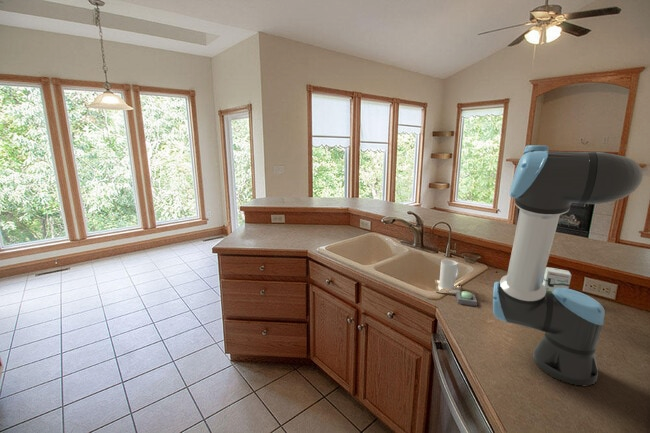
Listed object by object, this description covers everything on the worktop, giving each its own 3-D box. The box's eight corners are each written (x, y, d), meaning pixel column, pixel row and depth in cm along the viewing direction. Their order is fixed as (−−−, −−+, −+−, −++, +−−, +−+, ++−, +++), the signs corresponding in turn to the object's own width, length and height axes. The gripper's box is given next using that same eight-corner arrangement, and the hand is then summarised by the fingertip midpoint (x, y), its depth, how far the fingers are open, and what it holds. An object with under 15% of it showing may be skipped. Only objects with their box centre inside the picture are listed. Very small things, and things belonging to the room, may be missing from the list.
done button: (471, 302, 126) (472, 296, 125) (461, 301, 127) (462, 294, 126) (470, 297, 129) (471, 292, 129) (460, 296, 130) (461, 290, 130)
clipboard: (463, 296, 131) (463, 293, 131) (436, 292, 134) (436, 290, 134) (459, 283, 144) (459, 281, 143) (434, 280, 147) (435, 278, 146)
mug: (446, 291, 134) (448, 266, 131) (435, 284, 140) (437, 260, 138) (463, 287, 138) (466, 262, 135) (452, 281, 144) (454, 257, 141)
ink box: (542, 295, 134) (547, 270, 131) (540, 290, 138) (545, 266, 135) (566, 300, 130) (572, 274, 127) (564, 295, 134) (569, 270, 131)
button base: (476, 306, 124) (477, 301, 123) (457, 303, 126) (458, 299, 125) (473, 298, 130) (473, 293, 130) (455, 295, 132) (456, 291, 132)
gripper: (548, 189, 109) (537, 250, 115) (534, 184, 122) (524, 240, 127) (525, 188, 111) (514, 248, 117) (513, 183, 123) (504, 238, 129)
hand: (519, 244), depth 122 cm, fingers closed
